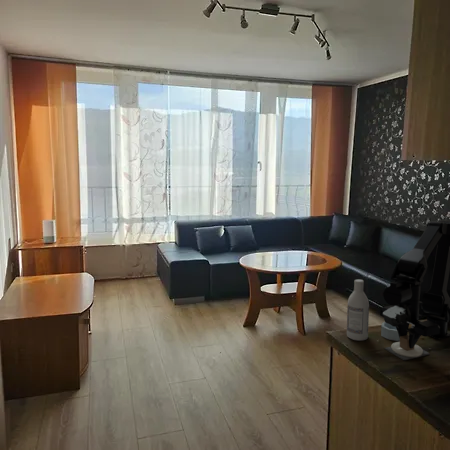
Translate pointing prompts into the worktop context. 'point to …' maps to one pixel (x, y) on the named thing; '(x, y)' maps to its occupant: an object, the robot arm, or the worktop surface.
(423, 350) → the mat
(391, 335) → the bowl
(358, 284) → the bath foam
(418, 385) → the worktop surface
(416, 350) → the lid
